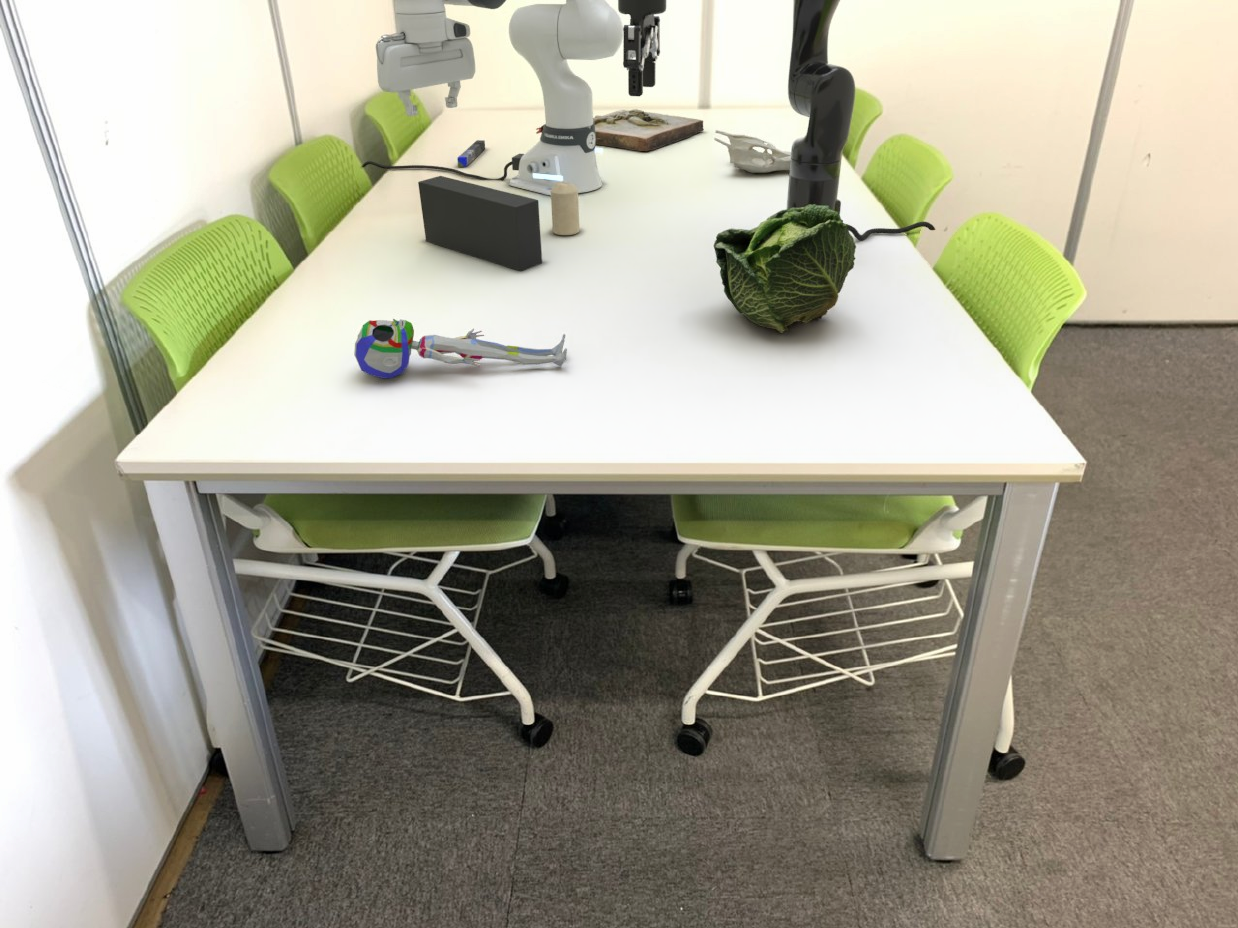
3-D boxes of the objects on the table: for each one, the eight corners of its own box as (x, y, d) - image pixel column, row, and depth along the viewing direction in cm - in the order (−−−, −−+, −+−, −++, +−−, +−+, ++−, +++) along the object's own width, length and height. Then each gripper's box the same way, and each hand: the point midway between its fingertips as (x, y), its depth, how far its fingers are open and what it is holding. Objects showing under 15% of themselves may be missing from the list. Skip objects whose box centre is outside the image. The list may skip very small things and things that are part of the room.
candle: (583, 228, 187) (581, 180, 181) (573, 236, 182) (571, 187, 177) (558, 226, 188) (556, 178, 183) (548, 234, 184) (545, 185, 178)
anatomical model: (716, 127, 227) (816, 125, 224) (715, 164, 232) (813, 163, 229) (712, 140, 215) (818, 139, 211) (712, 179, 220) (815, 179, 216)
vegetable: (744, 347, 153) (688, 245, 145) (835, 284, 154) (785, 179, 146) (797, 369, 135) (736, 254, 127) (900, 297, 136) (846, 179, 128)
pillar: (484, 140, 247) (465, 158, 230) (485, 148, 248) (466, 167, 231) (476, 140, 247) (457, 158, 230) (477, 148, 248) (457, 166, 231)
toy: (569, 347, 126) (349, 329, 122) (563, 400, 131) (350, 385, 126) (565, 318, 135) (359, 301, 130) (559, 369, 139) (360, 354, 134)
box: (425, 241, 182) (417, 181, 175) (447, 234, 185) (440, 175, 179) (520, 271, 166) (515, 207, 160) (542, 263, 170) (538, 200, 163)
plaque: (647, 125, 237) (559, 112, 252) (647, 153, 241) (560, 139, 256) (706, 107, 258) (622, 97, 273) (705, 133, 262) (622, 121, 277)
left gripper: (385, 37, 152) (397, 122, 160) (476, 25, 165) (483, 105, 173) (363, 35, 156) (376, 118, 163) (454, 23, 169) (462, 101, 176)
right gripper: (655, -18, 131) (654, 100, 140) (676, -25, 142) (674, 84, 151) (605, -18, 133) (608, 98, 141) (630, -25, 144) (631, 83, 153)
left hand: (432, 111), depth 168 cm, fingers open, 8 cm apart
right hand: (642, 91), depth 146 cm, fingers open, 8 cm apart
